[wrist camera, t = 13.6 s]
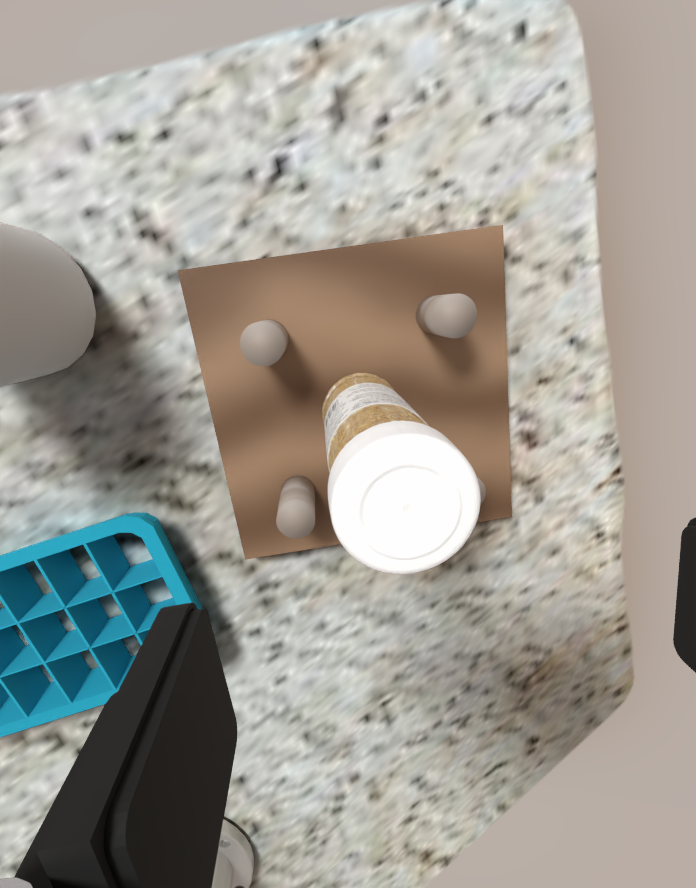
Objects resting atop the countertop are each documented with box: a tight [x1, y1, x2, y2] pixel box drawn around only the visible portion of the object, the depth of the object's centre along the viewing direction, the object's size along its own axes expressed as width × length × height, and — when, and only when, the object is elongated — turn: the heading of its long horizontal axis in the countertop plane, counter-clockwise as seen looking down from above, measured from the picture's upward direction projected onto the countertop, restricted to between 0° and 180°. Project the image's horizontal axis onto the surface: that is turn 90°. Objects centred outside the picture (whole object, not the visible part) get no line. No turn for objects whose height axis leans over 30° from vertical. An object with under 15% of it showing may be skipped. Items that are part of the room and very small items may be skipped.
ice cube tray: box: [0, 513, 218, 737], centre depth 29 cm, size 12×20×3 cm, turn 108°
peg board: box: [178, 225, 512, 559], centre depth 25 cm, size 17×17×6 cm
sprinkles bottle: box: [322, 373, 481, 574], centre depth 19 cm, size 5×5×14 cm
